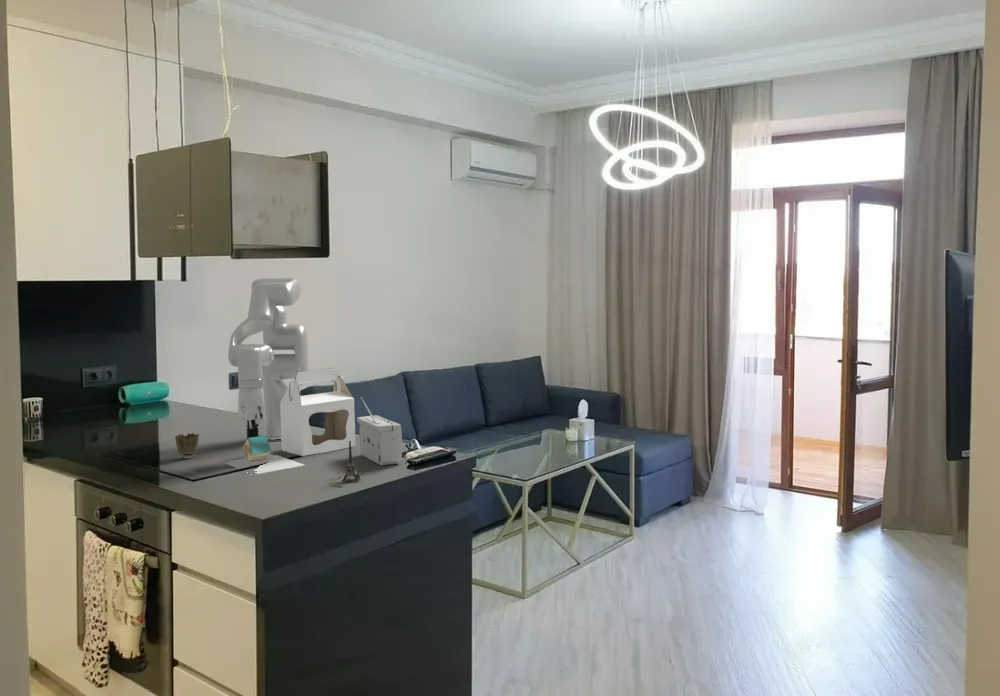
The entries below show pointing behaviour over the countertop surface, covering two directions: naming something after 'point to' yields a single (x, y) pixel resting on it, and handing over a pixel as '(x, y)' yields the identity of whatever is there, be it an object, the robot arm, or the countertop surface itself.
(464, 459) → the countertop surface
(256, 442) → the block
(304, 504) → the countertop surface
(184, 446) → the cup
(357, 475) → the eiffel tower figurine
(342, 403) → the gable box
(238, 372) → the robot arm
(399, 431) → the stereo radio cassette player
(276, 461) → the mat
